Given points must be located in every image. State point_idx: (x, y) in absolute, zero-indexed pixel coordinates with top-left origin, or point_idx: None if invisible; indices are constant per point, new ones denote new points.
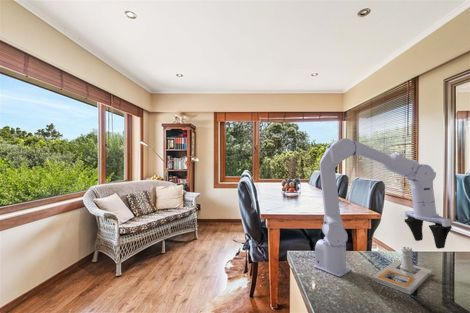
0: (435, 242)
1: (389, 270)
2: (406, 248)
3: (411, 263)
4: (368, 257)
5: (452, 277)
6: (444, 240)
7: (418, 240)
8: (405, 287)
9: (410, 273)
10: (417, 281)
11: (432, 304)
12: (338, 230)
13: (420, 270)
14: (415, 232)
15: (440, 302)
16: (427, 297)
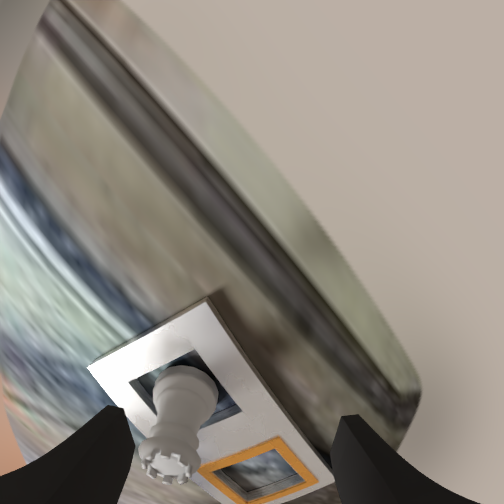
0: (344, 493)
1: (203, 468)
2: (158, 464)
3: (200, 417)
4: (50, 409)
5: (259, 225)
6: (388, 458)
7: (130, 436)
8: (320, 484)
9: (232, 421)
10: (298, 439)
11: None
12: None
13: (206, 359)
14: (108, 499)
15: (387, 428)
16: None
